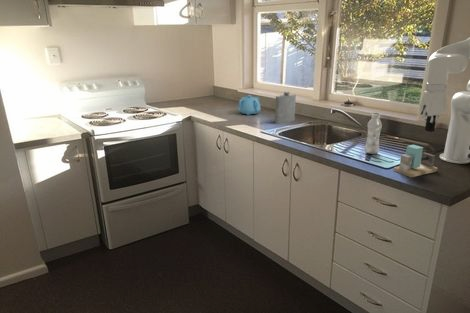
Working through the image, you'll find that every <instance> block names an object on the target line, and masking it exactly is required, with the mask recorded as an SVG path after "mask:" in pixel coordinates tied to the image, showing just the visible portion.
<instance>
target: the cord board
mask: <svg viewBox="0 0 470 313" xmlns="http://www.w3.org/2000/svg"><path fill="white" fill-rule="evenodd" d="M412 157H413V156H410V155H407V154H406V153H404V154H401V155H400V160H399V165H398V166H394V167H393V170H392V171H393V172H396V173H399V174H401V175H403V176H406V177H409V178H415V177H418V176H422V175H426V174H427V175H429V174H430V173H431V174H432V173H436V172H438V167H436V166H434V165H435V164H434V163H435V157H436V155H434V154H431V153H427V152H422V158H421V163H420V167H417V168H411V163H412Z"/></svg>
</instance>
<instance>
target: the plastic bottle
mask: <svg viewBox="0 0 470 313" xmlns="http://www.w3.org/2000/svg"><path fill="white" fill-rule="evenodd" d="M380 118H381V113H380V112H372V113H371V119H370V120H369V121H368V122H367V138H366V143H365V145H364V150H365V153H366V154H369V155H376V154H378V153H379V151H380V135H381V131H382V127H383V124H382V121H381V119H380Z"/></svg>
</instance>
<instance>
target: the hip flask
mask: <svg viewBox="0 0 470 313" xmlns="http://www.w3.org/2000/svg"><path fill="white" fill-rule="evenodd" d="M296 95H297V94H295V93H294V94H290V91H283V94H282V95H276V96H275V107H274V108H275V111H274V113H275V114H274V116H275V117H274V118H275V119H274V123H275V124H285V123H286V124H287V123H292V122H294V121H295V118H296V116H295V115H296Z"/></svg>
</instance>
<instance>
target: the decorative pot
mask: <svg viewBox="0 0 470 313" xmlns="http://www.w3.org/2000/svg"><path fill="white" fill-rule="evenodd" d="M260 100H261V99H260V98H259V97H258V96H257V97H256V96H252V94H248V95H247V96H241V98H240V100H239V101H238V107H237V110H238V112H240V113H241V114H244V115H247V116H251V115H258V114H259V113H260V112H261V103H260Z"/></svg>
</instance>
